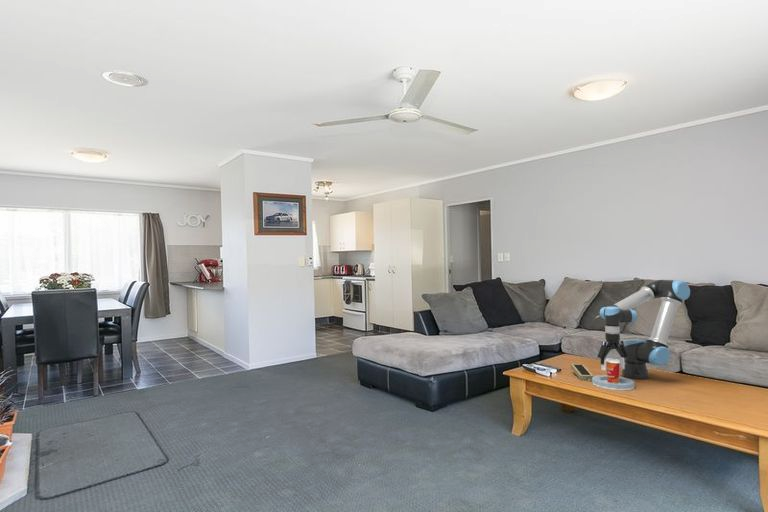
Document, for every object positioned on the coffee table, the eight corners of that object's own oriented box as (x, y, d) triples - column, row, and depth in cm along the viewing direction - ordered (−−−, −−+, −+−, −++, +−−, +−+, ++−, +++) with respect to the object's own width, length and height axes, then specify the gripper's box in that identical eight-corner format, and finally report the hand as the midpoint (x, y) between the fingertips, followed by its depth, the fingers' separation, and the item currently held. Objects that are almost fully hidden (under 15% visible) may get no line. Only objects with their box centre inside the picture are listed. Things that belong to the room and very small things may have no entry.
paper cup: (603, 381, 261) (603, 357, 261) (616, 381, 261) (616, 358, 261) (609, 384, 253) (609, 360, 253) (623, 385, 253) (623, 360, 253)
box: (582, 370, 286) (582, 363, 286) (596, 385, 264) (596, 378, 263) (569, 370, 287) (569, 363, 286) (582, 385, 265) (582, 378, 264)
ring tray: (612, 379, 271) (612, 374, 271) (643, 388, 250) (643, 383, 250) (584, 381, 264) (583, 376, 264) (613, 391, 243) (613, 386, 243)
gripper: (600, 335, 250) (600, 372, 250) (634, 332, 258) (634, 369, 257) (590, 333, 257) (591, 369, 257) (623, 331, 265) (624, 366, 264)
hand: (613, 369), depth 257 cm, fingers open, 13 cm apart
